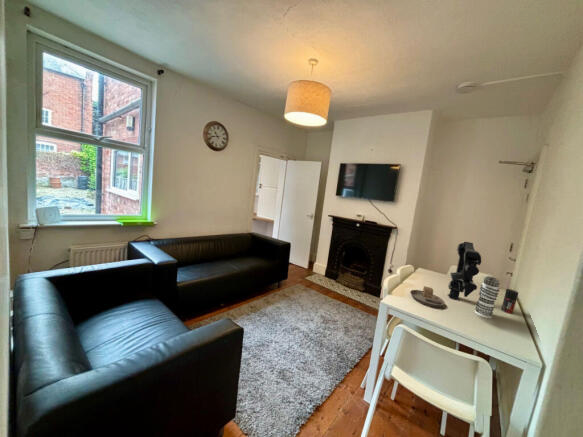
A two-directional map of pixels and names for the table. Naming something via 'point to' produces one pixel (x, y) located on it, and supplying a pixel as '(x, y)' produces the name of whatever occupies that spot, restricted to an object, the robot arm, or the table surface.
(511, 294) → the deodorant
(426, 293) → the walnut block
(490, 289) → the decorative candle
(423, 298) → the plant saucer
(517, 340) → the table surface
